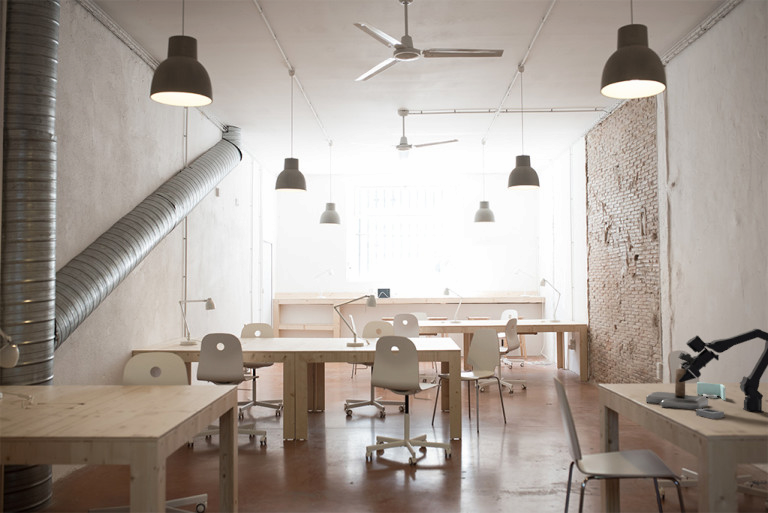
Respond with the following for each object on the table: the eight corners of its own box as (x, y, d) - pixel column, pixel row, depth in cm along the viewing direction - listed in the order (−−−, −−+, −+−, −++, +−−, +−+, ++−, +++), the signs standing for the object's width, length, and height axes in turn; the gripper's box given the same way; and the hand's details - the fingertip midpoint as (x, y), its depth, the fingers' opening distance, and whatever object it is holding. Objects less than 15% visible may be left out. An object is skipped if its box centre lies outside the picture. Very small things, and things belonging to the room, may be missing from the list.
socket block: (707, 413, 273) (707, 408, 273) (724, 417, 266) (724, 411, 266) (696, 415, 270) (696, 409, 270) (712, 418, 262) (712, 413, 263)
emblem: (679, 388, 311) (722, 399, 284) (679, 398, 311) (722, 410, 284) (634, 389, 304) (673, 400, 277) (634, 400, 304) (673, 412, 277)
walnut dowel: (686, 395, 292) (686, 369, 293) (682, 396, 289) (683, 369, 290) (677, 394, 295) (677, 368, 296) (673, 395, 293) (673, 368, 293)
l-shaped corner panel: (696, 395, 322) (696, 382, 322) (721, 398, 317) (721, 384, 317) (699, 399, 310) (699, 385, 311) (725, 402, 306) (725, 387, 306)
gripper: (685, 345, 301) (662, 365, 304) (693, 349, 283) (668, 370, 286) (702, 361, 298) (678, 382, 301) (711, 366, 280) (686, 388, 283)
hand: (677, 380), depth 293 cm, fingers open, 9 cm apart
